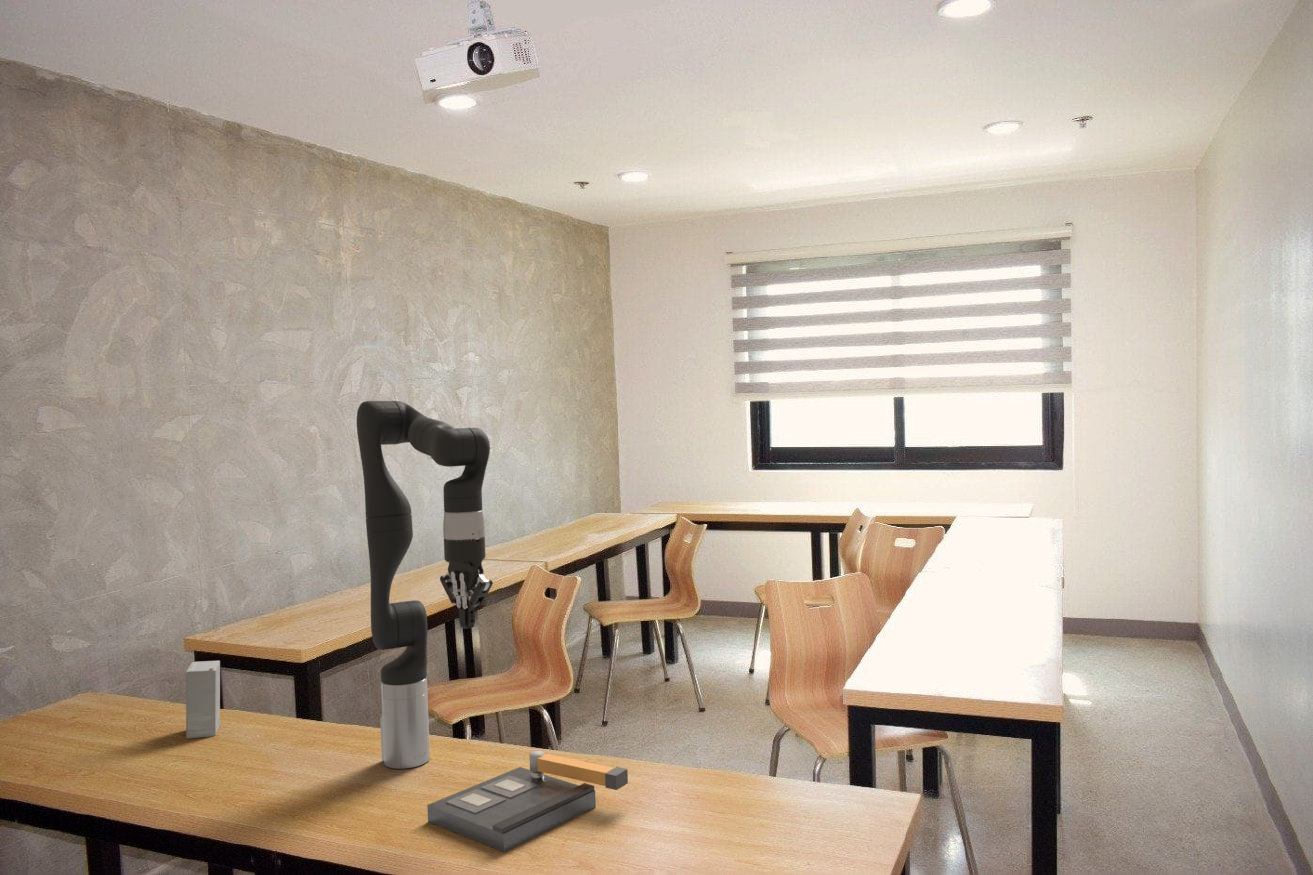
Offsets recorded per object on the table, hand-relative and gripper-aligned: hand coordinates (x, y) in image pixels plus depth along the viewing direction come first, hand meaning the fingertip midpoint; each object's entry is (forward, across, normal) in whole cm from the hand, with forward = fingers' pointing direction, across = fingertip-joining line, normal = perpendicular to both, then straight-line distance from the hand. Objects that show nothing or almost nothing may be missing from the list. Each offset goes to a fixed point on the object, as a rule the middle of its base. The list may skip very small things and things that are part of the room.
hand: (467, 627), depth 181 cm
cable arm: (+28, +17, +10) cm, 34 cm away
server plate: (+32, +12, -1) cm, 34 cm away
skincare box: (+32, -81, -12) cm, 88 cm away
